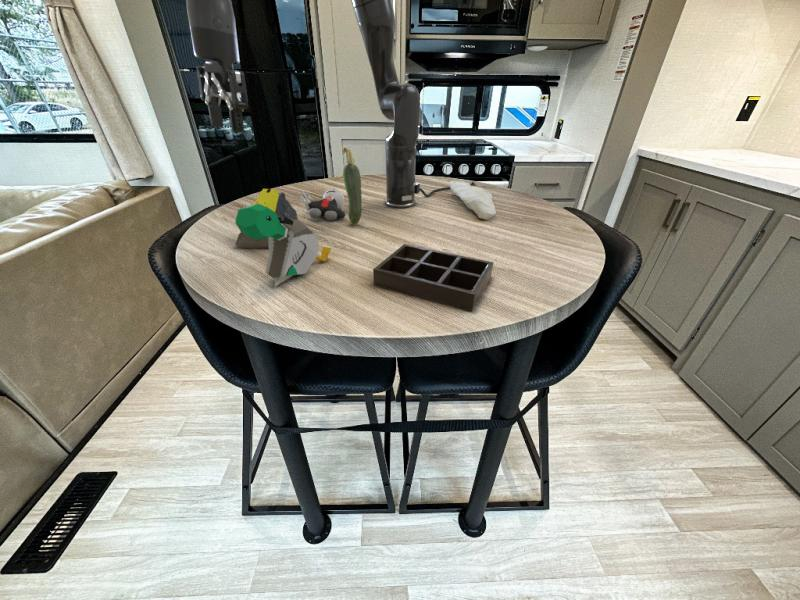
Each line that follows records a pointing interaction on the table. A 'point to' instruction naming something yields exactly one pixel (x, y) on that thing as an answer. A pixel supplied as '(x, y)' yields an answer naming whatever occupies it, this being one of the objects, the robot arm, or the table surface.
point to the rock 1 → (281, 210)
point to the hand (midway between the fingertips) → (227, 129)
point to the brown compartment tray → (434, 275)
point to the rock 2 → (475, 199)
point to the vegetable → (352, 188)
